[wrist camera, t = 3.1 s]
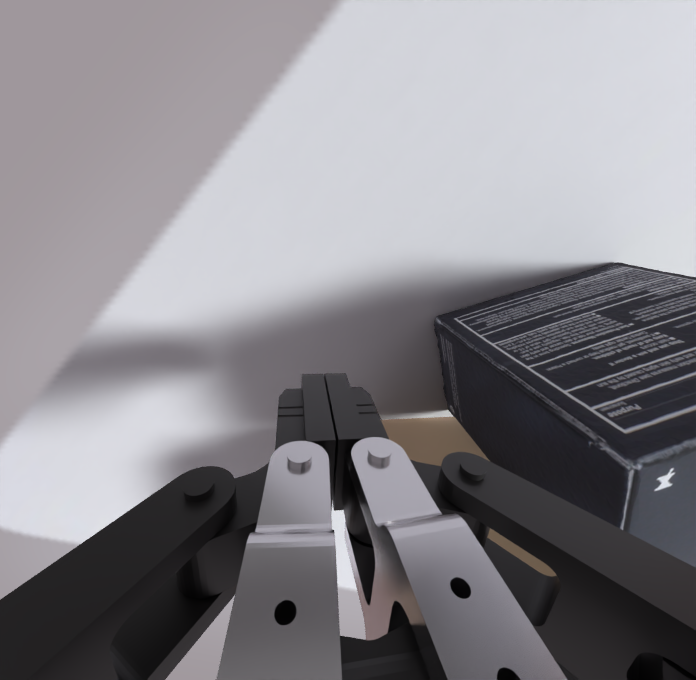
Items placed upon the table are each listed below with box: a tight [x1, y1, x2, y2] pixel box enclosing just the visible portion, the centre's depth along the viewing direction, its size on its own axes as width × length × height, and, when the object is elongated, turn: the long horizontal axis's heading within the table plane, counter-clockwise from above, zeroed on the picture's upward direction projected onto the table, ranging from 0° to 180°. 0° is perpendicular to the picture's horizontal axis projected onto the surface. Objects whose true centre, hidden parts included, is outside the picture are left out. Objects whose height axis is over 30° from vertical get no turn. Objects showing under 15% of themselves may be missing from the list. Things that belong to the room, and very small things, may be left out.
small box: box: [434, 263, 696, 568], centre depth 13 cm, size 11×6×10 cm, turn 105°
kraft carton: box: [381, 417, 557, 576], centre depth 15 cm, size 5×6×9 cm
